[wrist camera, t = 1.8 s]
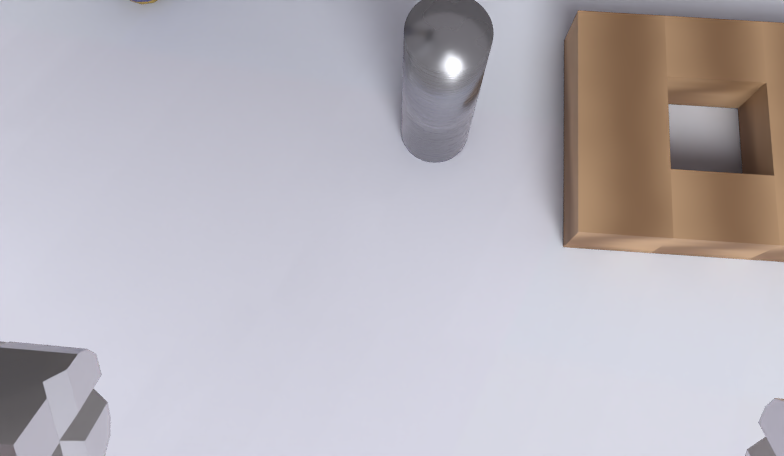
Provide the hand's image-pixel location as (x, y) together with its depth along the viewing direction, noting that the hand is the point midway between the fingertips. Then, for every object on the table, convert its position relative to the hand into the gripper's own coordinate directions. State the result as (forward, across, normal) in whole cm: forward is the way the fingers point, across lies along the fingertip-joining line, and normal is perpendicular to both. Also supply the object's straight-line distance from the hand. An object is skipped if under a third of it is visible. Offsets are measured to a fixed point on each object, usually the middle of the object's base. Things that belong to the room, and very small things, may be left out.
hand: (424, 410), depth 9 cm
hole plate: (+29, -15, +8) cm, 33 cm away
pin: (+29, -1, +8) cm, 30 cm away
